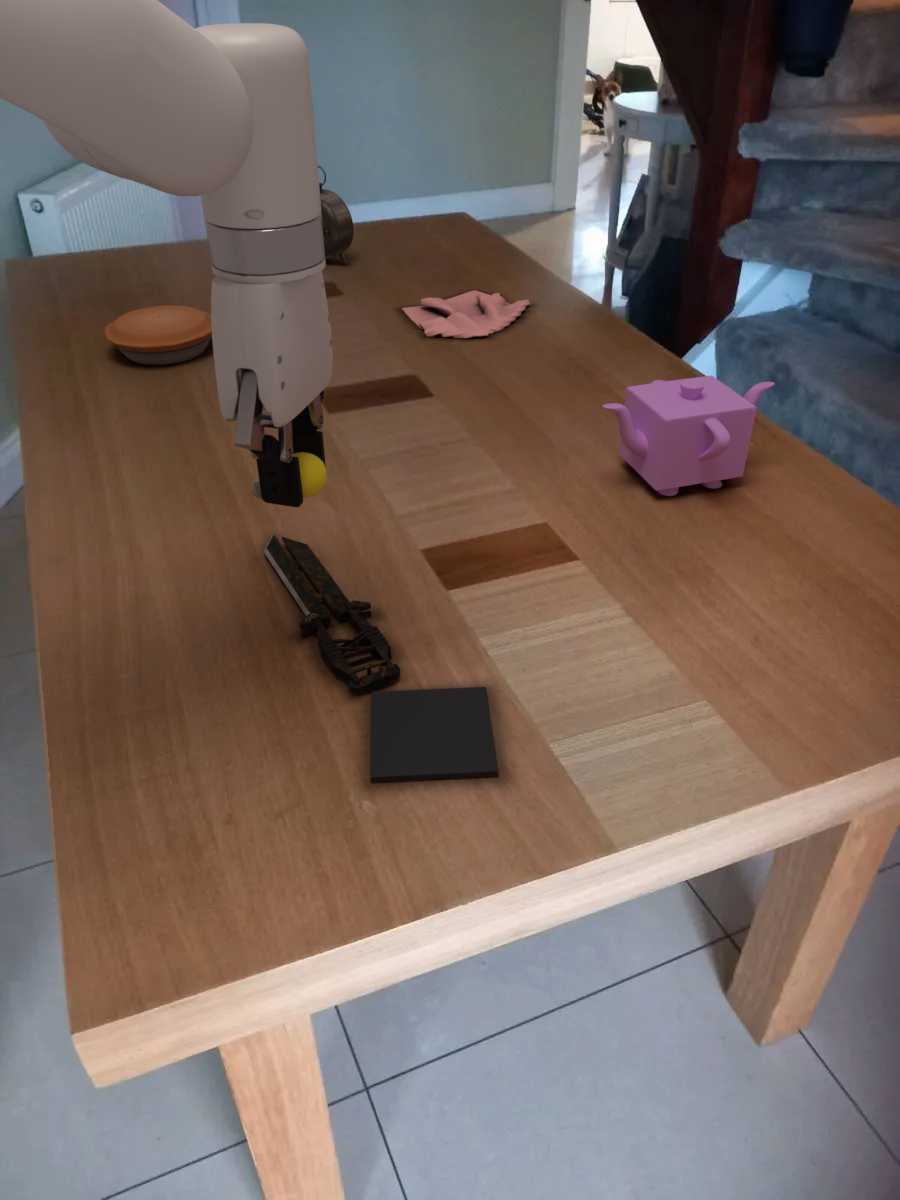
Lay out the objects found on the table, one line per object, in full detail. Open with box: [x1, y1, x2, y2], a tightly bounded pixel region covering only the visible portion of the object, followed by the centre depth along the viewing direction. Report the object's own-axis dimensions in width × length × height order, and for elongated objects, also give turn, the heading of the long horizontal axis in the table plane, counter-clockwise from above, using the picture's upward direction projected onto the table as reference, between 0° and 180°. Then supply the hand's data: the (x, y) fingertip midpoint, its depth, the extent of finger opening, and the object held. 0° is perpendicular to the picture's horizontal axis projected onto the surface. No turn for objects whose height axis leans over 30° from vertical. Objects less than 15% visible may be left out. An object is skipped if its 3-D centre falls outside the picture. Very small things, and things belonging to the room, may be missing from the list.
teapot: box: [601, 375, 776, 497], centre depth 98 cm, size 15×13×11 cm
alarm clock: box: [318, 165, 355, 266], centre depth 163 cm, size 11×5×16 cm, turn 53°
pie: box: [104, 304, 212, 366], centre depth 131 cm, size 16×16×5 cm
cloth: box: [401, 289, 531, 340], centre depth 143 cm, size 20×22×2 cm
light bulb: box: [250, 452, 328, 500], centre depth 70 cm, size 3×6×4 cm, turn 104°
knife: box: [263, 533, 401, 696], centre depth 81 cm, size 25×6×1 cm, turn 22°
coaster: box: [369, 686, 499, 783], centre depth 68 cm, size 9×9×1 cm
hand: (294, 487), depth 71 cm, fingers closed on light bulb, 3 cm apart
